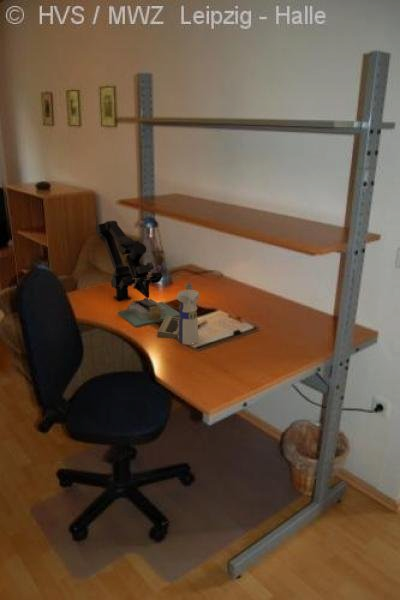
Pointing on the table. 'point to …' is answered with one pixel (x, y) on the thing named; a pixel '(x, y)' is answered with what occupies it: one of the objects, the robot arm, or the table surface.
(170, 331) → the computer
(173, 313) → the board
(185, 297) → the water bottle
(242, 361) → the table surface
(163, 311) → the heat sink
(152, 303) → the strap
